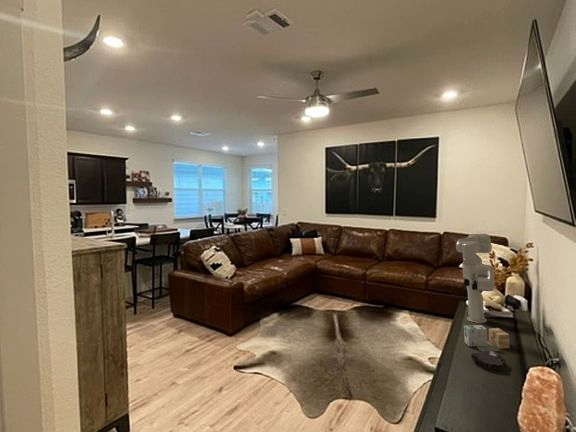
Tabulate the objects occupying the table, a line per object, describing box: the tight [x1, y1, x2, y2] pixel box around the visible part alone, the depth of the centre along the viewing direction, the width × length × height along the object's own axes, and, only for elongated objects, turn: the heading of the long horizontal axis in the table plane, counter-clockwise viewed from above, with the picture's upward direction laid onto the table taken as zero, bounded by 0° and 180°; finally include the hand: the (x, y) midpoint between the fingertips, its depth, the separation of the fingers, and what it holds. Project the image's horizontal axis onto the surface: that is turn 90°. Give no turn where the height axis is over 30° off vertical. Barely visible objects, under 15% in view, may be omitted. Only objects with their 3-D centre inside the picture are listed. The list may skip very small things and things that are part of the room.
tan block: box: [488, 327, 511, 349], centre depth 194 cm, size 10×6×8 cm, turn 178°
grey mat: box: [476, 340, 501, 352], centre depth 194 cm, size 14×11×1 cm
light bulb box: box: [463, 324, 488, 347], centre depth 196 cm, size 11×7×11 cm
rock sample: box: [470, 350, 507, 373], centre depth 173 cm, size 18×16×5 cm
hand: (470, 287), depth 212 cm, fingers open, 9 cm apart
